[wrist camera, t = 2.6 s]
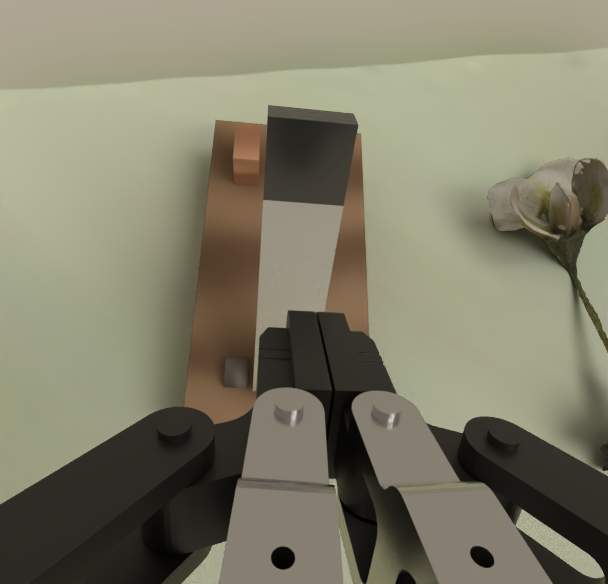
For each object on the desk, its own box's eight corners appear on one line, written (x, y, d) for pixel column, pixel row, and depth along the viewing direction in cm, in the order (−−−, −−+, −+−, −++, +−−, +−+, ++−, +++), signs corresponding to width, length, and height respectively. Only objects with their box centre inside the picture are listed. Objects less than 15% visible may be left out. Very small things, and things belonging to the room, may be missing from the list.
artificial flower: (550, 482, 29) (621, 467, 20) (468, 210, 40) (490, 122, 31) (698, 469, 28) (839, 448, 19) (573, 193, 38) (627, 98, 30)
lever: (308, 375, 24) (309, 392, 23) (253, 373, 24) (252, 391, 23) (353, 113, 16) (358, 124, 15) (268, 105, 15) (268, 116, 14)
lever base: (356, 438, 27) (386, 430, 21) (190, 434, 26) (173, 425, 20) (349, 169, 35) (370, 105, 28) (219, 158, 33) (212, 89, 27)
